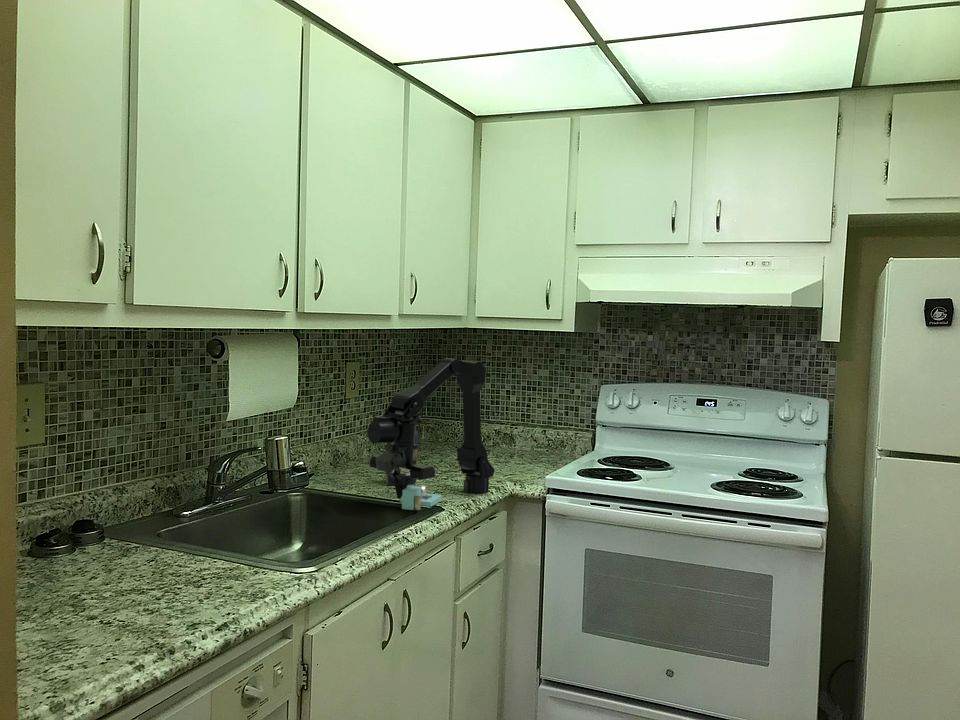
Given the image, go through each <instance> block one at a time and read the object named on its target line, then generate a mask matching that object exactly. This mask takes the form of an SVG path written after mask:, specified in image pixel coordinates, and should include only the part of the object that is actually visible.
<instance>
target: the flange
mask: <svg viewBox="0 0 960 720" xmlns="http://www.w3.org/2000/svg"><path fill="white" fill-rule="evenodd" d="M416 486H417V485H415V486H414V485H408V486H407V488H406V489H404V490H403V493H402V497H401V498H400V499H399V504H401V509H402V510H409V511H413V510H414V511H415V509H414V508H415V496H421V487H416ZM442 500H443V495H442V494H435V493H427V500H423V499H421V507H422V506H423V507H429V508H430V507H433V506H435V504H438V503H439V502H441V501H442Z"/></svg>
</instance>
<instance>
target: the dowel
mask: <svg viewBox="0 0 960 720" xmlns="http://www.w3.org/2000/svg"><path fill="white" fill-rule="evenodd" d="M421 507H422V506H421V496H415V508H414V511H421Z"/></svg>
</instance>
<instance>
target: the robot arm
mask: <svg viewBox="0 0 960 720" xmlns="http://www.w3.org/2000/svg"><path fill="white" fill-rule="evenodd" d="M486 374H487V370H486V366H485V365H484V364H483V363H482V362H480V361H472V360H470V361H469V360H458V359H456V358H450V357H445V358H442V359H441V360H440V361H439V363H438V364H437V365H436V366H435V367H433V369H431V370H430V371H428V373H427V374H426V375H424V376H423V377H422V378H420V379H419V380H418V381H417V383H415V384H414V385H412V386H410V387H407V388H403V389H402V390H400V391H398V392H397V393H395V394H394V395H393V396H392V397H391V402H390V403H389V405H388V407H387V409H385V411H384V412H383V415H382V416H373V420H372V421H371V422H370V424H369V425H368V428H367V437H368V440H369V441H370V442H371V443H372V444H384V443H387V442H393V444H390V445H389V449H388V451H387V450H386V451H384V452H383V453H381V454H378V455H377V454H376V455H372V456H371V457H370V458H369V463H368V464H369V465H368V466H369V467H370V468H374V469H377V471H382V472H385V475H386V474H388V475H389V476H390V477H391V478H392V480H393V483H394V490H395V493H396V497H397V498H396V499H399V500H400V498H402V493H403V490H404V489H406V488H408V487H409V485H408V484H409V483H410V481H411V480H412V478H416V480H426V479H432V478H435V477H436V468H435V467H434V466H432V465H429V464H424V463H421V464H417V465H416V466H413V464H416V460H414V459H413V456H414V449H417V445H416V444H414V443H415V430H416V428H417V427H416V426H417V425H422V424H423V420H422V419H420V417H419V415H418V414H419V413H420V412H421V411H422V410H423V408H424V407H425V406H426V403H427V399H428V398H429V397H430V396H431V395H432V394H433V393H435V391H437V389H439V388H440V387H441V386H442V385H443V384H444V383H445V382H446V381H448V380H449V379H450V378H451V377H452V376H453V375H455V376H456V381H457V385H458V386H459V388H460V390H461V392H462V409H463V410H462V411H463V413H462V414H463V417H462V418H463V441H462V444H461V446H460V447H459V446H458V447H457V448H456V453H457V454H456V455H457V458H456V461H457V462H458V465H459V468H460V471H461V474H464V475H465V478H464V480H463V490H462V491H463V493H465V494H468V495H471V494H473V495H484V494H486V493H489V490H490V489H489V488H490V484H489V483H490V479H491V478H492V477H494V474H495V471H496V470H495V467H493V465H492V464H491V463H490V461H489V457H488V452H487V448H486V447H485V445H484V443H483V441H482V426H481V424H482V423H481V418H482V417H481V390H482V389H483V387H484V385H485V383H486ZM416 431H417V430H416ZM405 467H407V468H405Z"/></svg>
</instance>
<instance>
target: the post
mask: <svg viewBox="0 0 960 720" xmlns="http://www.w3.org/2000/svg"><path fill="white" fill-rule="evenodd" d="M415 486H416V487H421V499H423V500H427V494H428V485H426V484H425V485H424V484H416V485H415Z"/></svg>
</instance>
